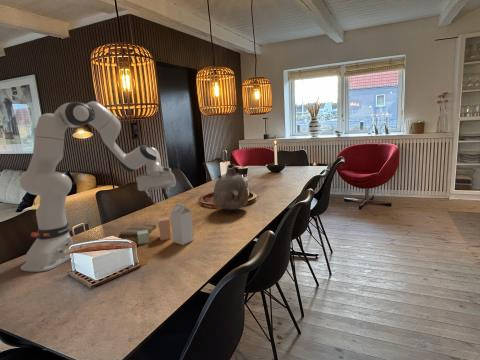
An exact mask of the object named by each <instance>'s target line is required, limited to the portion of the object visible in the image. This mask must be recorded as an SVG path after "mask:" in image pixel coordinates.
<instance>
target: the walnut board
mask: <svg viewBox="0 0 480 360" xmlns="http://www.w3.org/2000/svg"><path fill="white" fill-rule="evenodd" d="M156 228H157V225H156V224H131V225H130V226H128V227H127V228H126V229H124V230H122V231H121V232H120V233H119V235H118V236H119V238H138V235H137V231H142V230H148V235H150V234H151V233H152V232H153V231H154V230H155V229H156Z"/></svg>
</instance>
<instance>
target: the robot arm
mask: <svg viewBox="0 0 480 360" xmlns="http://www.w3.org/2000/svg"><path fill="white" fill-rule="evenodd" d="M88 124H89V125H90V126H92V127H93V128H94V129H95V130H97V132H98V133H99V135H100V141H101V143H102V145H103V146H104V147H105V148H106V149H107V150H108V152H109V153H110V154H111V155H112V156H113V158H115V159H116V161H117V162H118V164H119V165H120V167H121V168H122V170H124V171H125V172H127V173H134V172H136V171H137V170H138V169H140V168H141V167H143V166H145V167H146V168H145V170H146V174H138V175H137V176H136V177H135V181H136V183H137V190H138V191H139V192H143V191H144V192H145V193H146V194H147V196H148V197H152V193H151V190H160V189H166V190H165V194H166V195H170V189H171V188H173V187H175V186H177V180H176V177H175V174H174V173H173V172H172V169H171V167H165V166H162V160H161V155H160V153H159V151H158V149H157V148H155V147H153V146H151V147H150V146H148V145H145V144H142V145H139V146H137V147H136V148H135V149H133V150H132V151H130V152H129V153H125V152H124V151H123V150H122V149H121V147H120V146H119V145H118V144H117V142H116V140H117V138H118V136H119V134H120V132H121V129H122V123H121V121H120V120H119V119H118V117H117V116H116V115H114V113H113V112H111V111H110V109H108V108H107V107H105V106H104V105H102V104H101V103H99V102H97V101H96V100H95V101H94V100H93V101H92V100H91V101H89V102H87V103H84V102H80V101H72V102H66V103H63V104H61V105H59V106H58V107H56V108H55V109H54V111H53V112H52V113H50V112H49V113H48V112H47V113H43V114H41V115H40V116H39V117H38V120H37V124H36V127H35V131H34V141H33V149H32V150H33V151H32V156H31V160H30V163H29V165H28V167H27V169H26V172H25V173H23V175H22V176H21V177H20V180H19V184H20V187H21V189H22V190H23V191H25V192H26V193H28V194H30V195H34V196H39V205H38V208H37V209H36V211H35V216H36V221H37V226H38V228H37V231H36V232H34V231H33V232H31V234H30V237H32V238H36V240H35V241H34V242H33V243H32V245H31V246H30V248H29V250H28V251H27V252H26V254H25V257H26V262H24V263H23V264H22V265H21V266H20V270H21V271H24V272H31V273H32V272H34V273H35V272H37V273H38V272H45V271H49V270H52V269H54V268H56V267H58V266H60V265H62V264H63V263H66V262H68V261H70V260H71V259H70V255H69V254H65V253H64V251H65V250H67V249H68V248H69V247H70V246H71V245H74V241H73V237H72V236H71V234H70V225H69V222H68V221H67V213H66V212H67V211H66V201H67V196H68V194H69V193H70V192H71V190H72V186H73V182H72V179H71V178H70V177H69V176H68V175H67V174H64V173H63V172H59V171H56V168H57V165H58V164H59V163H60V162H61V161H62V160H63V157H64V149H65V148H64V145H65V133H66V131H67V129H69V128H78V127H82V126H86V125H88Z"/></svg>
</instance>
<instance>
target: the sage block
mask: <svg viewBox="0 0 480 360" xmlns="http://www.w3.org/2000/svg"><path fill="white" fill-rule="evenodd" d="M137 235H138V237H137V241H138V245H143V244H147V243H150V237H149V235H150V234H148V230H142V231H137Z"/></svg>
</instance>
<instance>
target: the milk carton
mask: <svg viewBox="0 0 480 360" xmlns="http://www.w3.org/2000/svg"><path fill="white" fill-rule="evenodd" d="M170 221H171V223H170V224H171V231H172V233H171V234H172V242H173V243H174V244H179V245H182V246H184V245H186V244H189V243H191V242H193V241H194V229H193V211H192V210H191V209H189V208H188V207H186V204H183V203H179V202H178V203H177V202H175V204H174V207H173V208H172V210H171V211H170Z"/></svg>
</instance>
